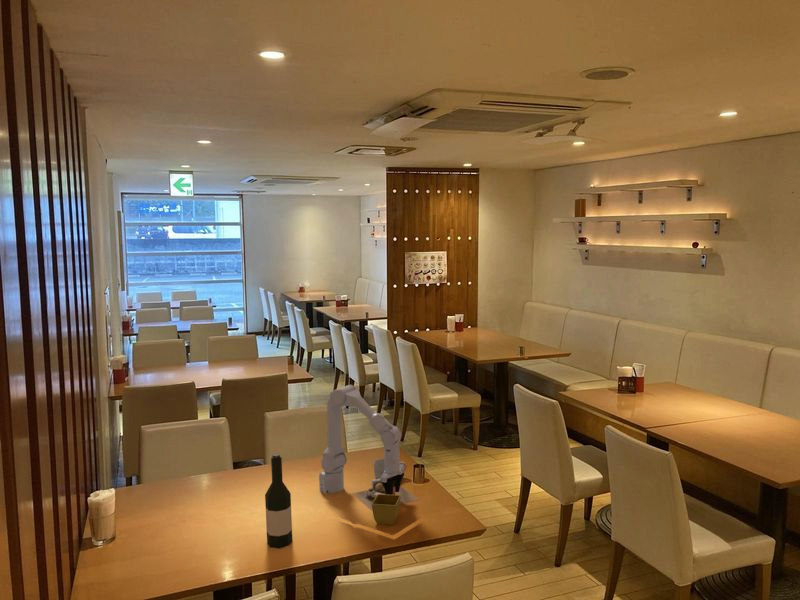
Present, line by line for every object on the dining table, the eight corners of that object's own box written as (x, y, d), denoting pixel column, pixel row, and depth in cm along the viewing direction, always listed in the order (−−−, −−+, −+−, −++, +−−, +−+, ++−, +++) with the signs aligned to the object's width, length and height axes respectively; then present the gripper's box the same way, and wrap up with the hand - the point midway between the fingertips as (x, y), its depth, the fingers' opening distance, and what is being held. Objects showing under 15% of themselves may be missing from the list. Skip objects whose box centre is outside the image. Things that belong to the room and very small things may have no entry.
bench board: (372, 514, 222) (372, 510, 222) (352, 496, 239) (351, 493, 239) (419, 502, 231) (419, 499, 231) (397, 486, 248) (396, 482, 248)
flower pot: (396, 530, 208) (395, 505, 208) (372, 528, 210) (371, 503, 210) (401, 519, 217) (401, 495, 216) (378, 517, 219) (377, 493, 218)
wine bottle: (281, 534, 208) (277, 449, 205) (297, 541, 202) (294, 453, 200) (261, 543, 201) (258, 455, 199) (278, 551, 196) (274, 460, 194)
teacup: (370, 483, 252) (369, 464, 252) (378, 473, 263) (378, 455, 262) (402, 485, 248) (402, 466, 248) (409, 476, 259) (409, 458, 258)
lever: (364, 496, 234) (364, 481, 234) (370, 493, 237) (369, 478, 237) (392, 503, 227) (392, 488, 226) (397, 500, 230) (397, 485, 229)
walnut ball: (377, 494, 237) (377, 485, 236) (373, 491, 240) (373, 482, 240) (386, 492, 238) (385, 484, 238) (382, 489, 242) (381, 481, 241)
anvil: (373, 491, 240) (372, 481, 240) (371, 489, 242) (371, 479, 242) (383, 489, 242) (383, 479, 241) (382, 487, 244) (382, 478, 243)
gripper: (392, 467, 221) (393, 503, 222) (409, 454, 234) (410, 489, 235) (375, 464, 224) (376, 500, 225) (393, 452, 237) (394, 486, 238)
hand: (392, 494), depth 230 cm, fingers open, 5 cm apart
